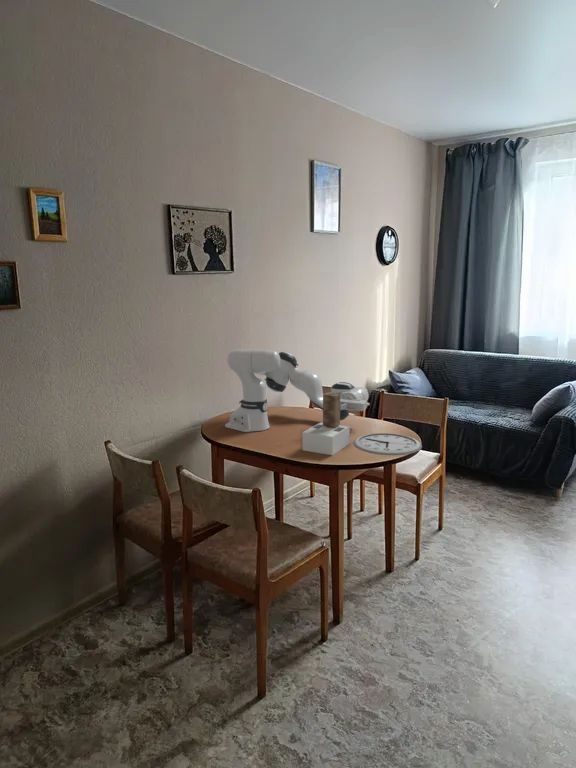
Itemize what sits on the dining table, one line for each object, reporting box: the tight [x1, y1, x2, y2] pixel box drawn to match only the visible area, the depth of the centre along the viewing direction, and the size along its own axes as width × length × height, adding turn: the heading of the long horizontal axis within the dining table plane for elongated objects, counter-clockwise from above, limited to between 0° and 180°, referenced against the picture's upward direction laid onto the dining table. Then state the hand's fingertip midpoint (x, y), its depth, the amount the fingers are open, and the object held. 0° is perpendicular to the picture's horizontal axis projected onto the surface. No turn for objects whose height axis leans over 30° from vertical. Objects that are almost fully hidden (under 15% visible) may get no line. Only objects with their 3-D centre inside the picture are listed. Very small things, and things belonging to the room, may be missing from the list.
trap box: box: [302, 421, 351, 456], centre depth 232 cm, size 14×18×8 cm
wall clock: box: [352, 432, 423, 456], centre depth 236 cm, size 30×2×30 cm
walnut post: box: [322, 392, 341, 427], centre depth 234 cm, size 6×5×14 cm
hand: (338, 407), depth 240 cm, fingers closed
